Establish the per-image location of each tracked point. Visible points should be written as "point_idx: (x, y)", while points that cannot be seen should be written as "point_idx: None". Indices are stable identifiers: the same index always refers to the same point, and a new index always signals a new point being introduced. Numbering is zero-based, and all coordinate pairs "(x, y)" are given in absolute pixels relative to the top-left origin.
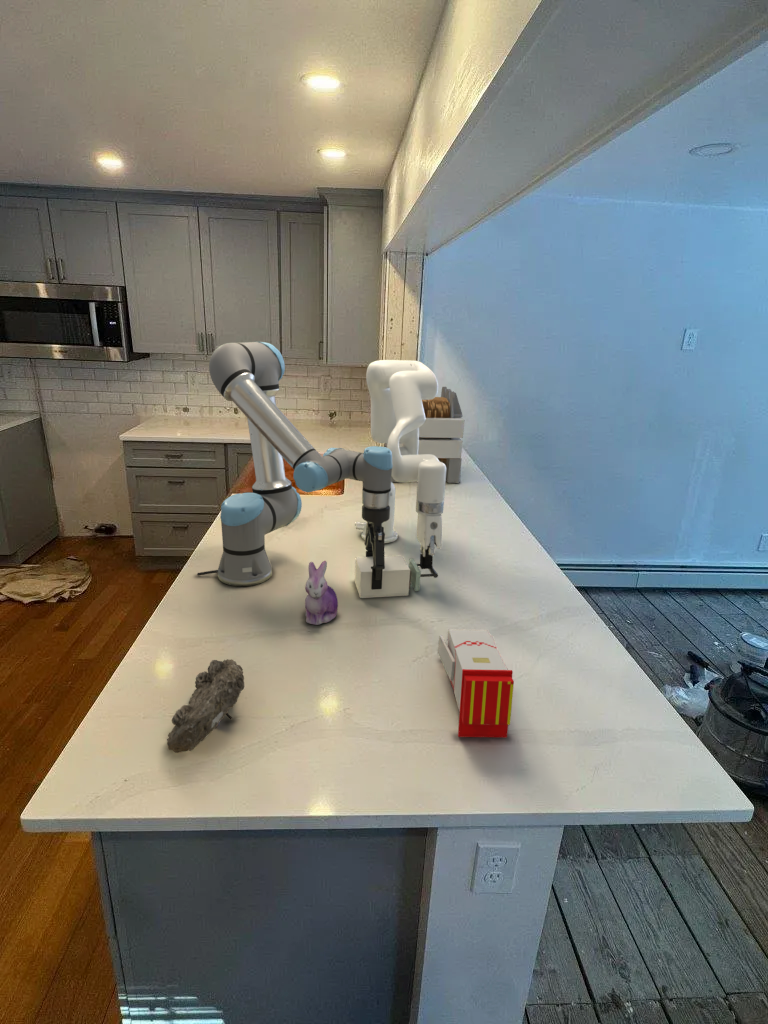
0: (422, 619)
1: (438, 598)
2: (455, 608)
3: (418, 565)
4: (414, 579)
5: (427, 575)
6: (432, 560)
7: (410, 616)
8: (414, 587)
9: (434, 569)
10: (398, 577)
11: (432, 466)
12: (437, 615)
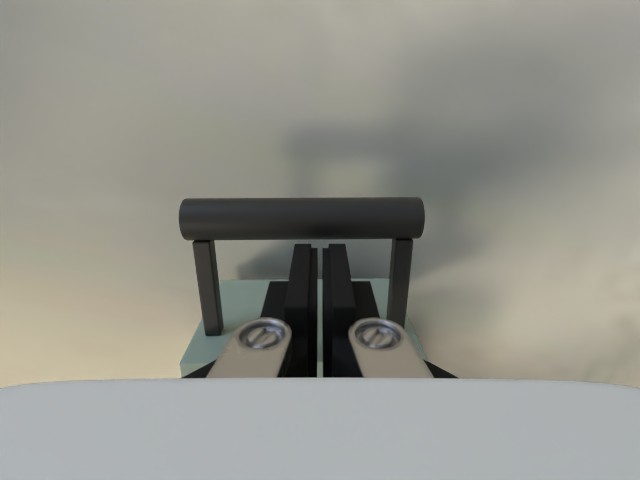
0: (629, 310)
1: (461, 179)
2: (602, 112)
3: (219, 299)
4: None
5: (407, 280)
6: (349, 275)
7: (583, 351)
8: None
9: (336, 211)
10: None
11: None
12: (627, 235)
